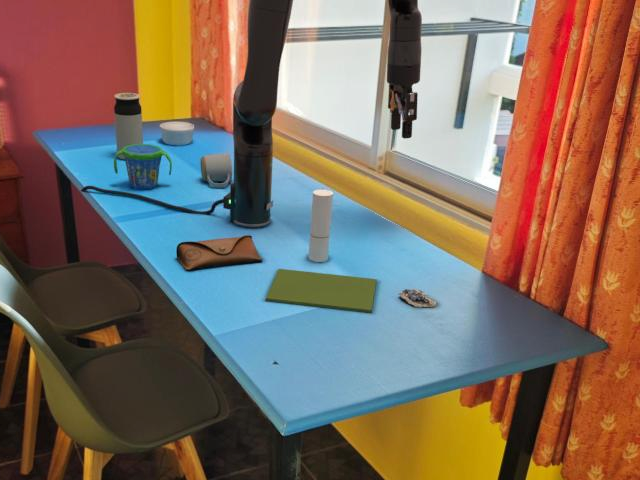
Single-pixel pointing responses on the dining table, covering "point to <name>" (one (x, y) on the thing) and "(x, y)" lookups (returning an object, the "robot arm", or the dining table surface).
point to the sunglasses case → (217, 252)
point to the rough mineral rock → (417, 298)
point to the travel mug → (128, 121)
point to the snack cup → (142, 164)
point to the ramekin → (177, 133)
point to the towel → (323, 290)
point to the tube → (320, 225)
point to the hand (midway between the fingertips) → (401, 133)
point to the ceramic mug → (216, 169)
